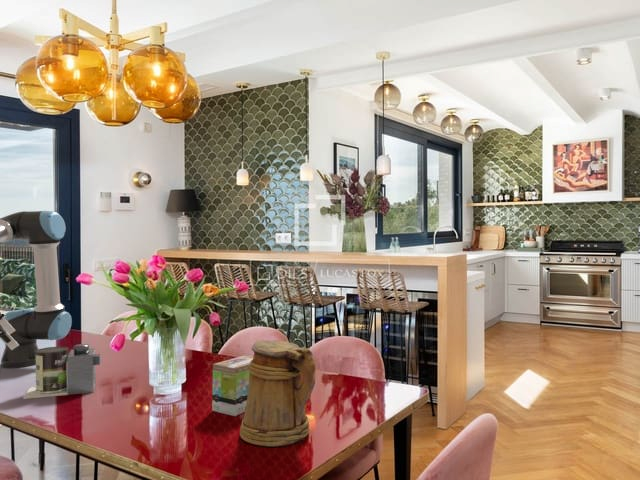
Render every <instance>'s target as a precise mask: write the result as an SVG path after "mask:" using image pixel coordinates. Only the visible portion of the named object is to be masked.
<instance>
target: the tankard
mask: <svg viewBox="0 0 640 480" xmlns="http://www.w3.org/2000/svg"><path fill="white" fill-rule="evenodd" d="M251 351H253V356H252V357H253V360H251V362H250V368H249V372H250V373H251V374H250V381H249V389H248V396H247V403H246V409H245V412H244V417H243V419H242V421H241V425H240V427H239V428H240V430H239V437H240V438H241V440H243V441H245V442H247V443H249V444H252V445H256V446H261V447H270V448H271V447H275V448H276V447H285V446H290V445H294V444H296V443H298V442H300V441H303V440H304V439H305V438H306V437H307V436H308V434H309V432H310V420H309V417H308V416H307V415H306V407H305V405H306V404H307V402H308V400H309V399H310V397H311V396H312V392H313V390H314V388H315V383H316V379H317V378H316V365H315V360H314V358H313V353H312V352H313V351H312V350H311V349H310V348H303V347H300V346H299V345H298V344H296V343H294V342H289V341H285V340H276V339H275V340H273V339H272V340H270V339H266V340H261V339H258V340H256V341H255V342H254V343H253V345H252V346H251Z"/></svg>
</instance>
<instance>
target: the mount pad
mask: <svg viewBox="0 0 640 480" xmlns="http://www.w3.org/2000/svg"><path fill="white" fill-rule="evenodd" d="M57 396H68V391H67V389H66V390H64V391H61V392H57V393H50V394H40V393H37V392H36V386H33V387H29V388H28V389H27V392H25V394H24V396H23V400H28V399H36V398H47V397H57Z"/></svg>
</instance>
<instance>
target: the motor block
mask: <svg viewBox="0 0 640 480" xmlns="http://www.w3.org/2000/svg"><path fill="white" fill-rule="evenodd" d="M99 365H101V353H96V347H90V344H88V343H81V344H75V345H73V349H70V351H69V352H68V356H67V362H66V366H67V391H68V395H79V394H80V395H81V394H89V393H94V390H95V388H96V366H99ZM68 395H67V396H68Z"/></svg>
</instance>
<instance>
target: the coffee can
mask: <svg viewBox="0 0 640 480" xmlns="http://www.w3.org/2000/svg"><path fill="white" fill-rule="evenodd" d="M35 354H36V364H35V387H36V392H37V393H40V394H50V393H57V392H61V391H64V390H66V389H67V366H66V362H67V356H68V355H69V348H68V347H67V346H49V347H48V346H47V347H43V348H38V350H36V351H35Z"/></svg>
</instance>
